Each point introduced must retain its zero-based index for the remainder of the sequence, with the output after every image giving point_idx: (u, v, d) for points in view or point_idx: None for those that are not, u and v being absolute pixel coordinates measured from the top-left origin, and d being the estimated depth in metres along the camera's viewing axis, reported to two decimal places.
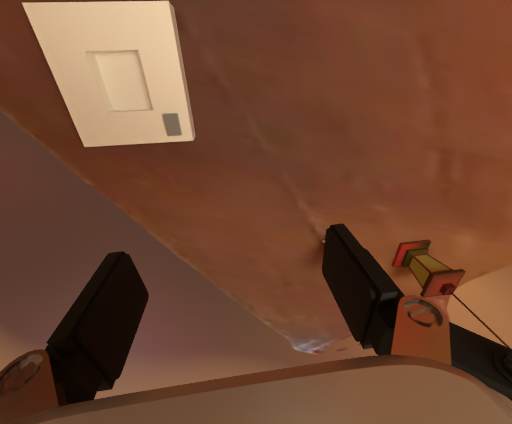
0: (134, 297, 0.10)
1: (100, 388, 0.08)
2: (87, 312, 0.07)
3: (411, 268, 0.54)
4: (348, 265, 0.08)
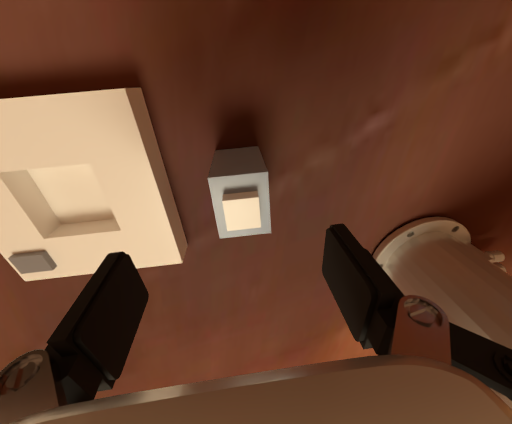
0: (134, 297, 0.10)
1: (100, 388, 0.08)
2: (87, 312, 0.07)
3: None
4: (348, 265, 0.08)
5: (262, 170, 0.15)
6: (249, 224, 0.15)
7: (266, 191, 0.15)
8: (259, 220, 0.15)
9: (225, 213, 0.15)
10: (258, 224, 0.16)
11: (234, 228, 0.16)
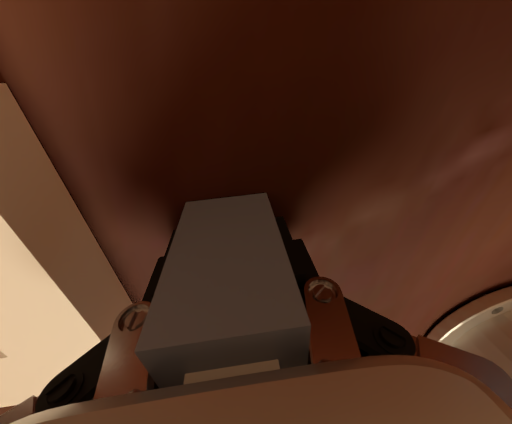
0: None
1: None
2: None
3: None
4: None
5: (292, 311, 0.05)
6: None
7: (301, 358, 0.06)
8: None
9: None
10: None
11: None
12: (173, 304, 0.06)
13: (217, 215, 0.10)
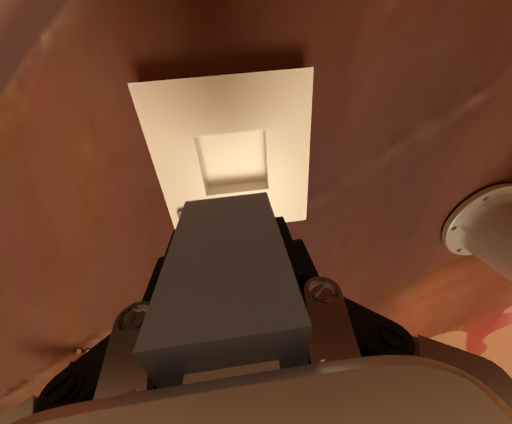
0: None
1: None
2: None
3: None
4: None
5: (292, 312, 0.05)
6: None
7: (302, 358, 0.06)
8: None
9: None
10: None
11: None
12: (172, 304, 0.06)
13: (217, 214, 0.09)
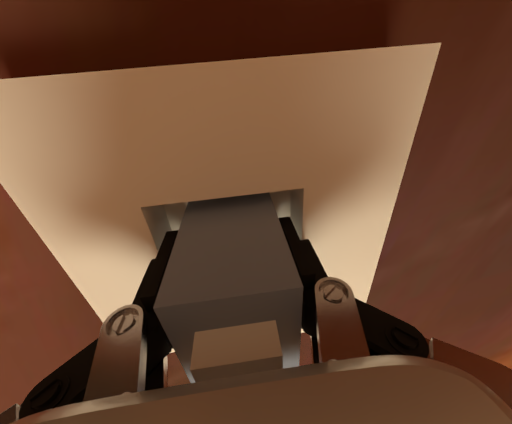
0: None
1: None
2: None
3: None
4: None
5: (287, 277, 0.06)
6: None
7: (296, 319, 0.07)
8: None
9: None
10: None
11: None
12: (184, 273, 0.07)
13: (220, 202, 0.10)
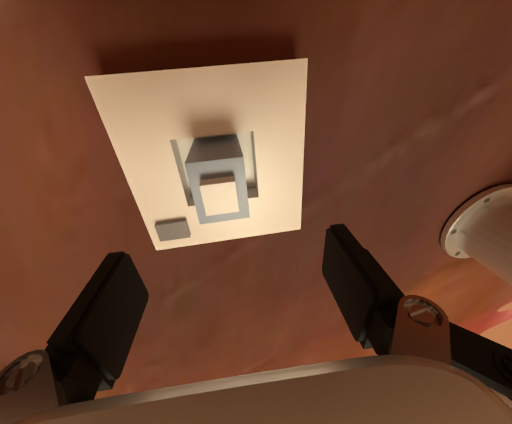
0: (134, 297, 0.10)
1: (100, 388, 0.08)
2: (87, 312, 0.07)
3: None
4: (348, 265, 0.08)
5: (238, 155, 0.15)
6: (227, 208, 0.16)
7: (243, 176, 0.16)
8: (237, 204, 0.16)
9: (203, 198, 0.15)
10: (236, 208, 0.16)
11: (213, 213, 0.16)
12: (195, 157, 0.16)
13: (211, 141, 0.19)
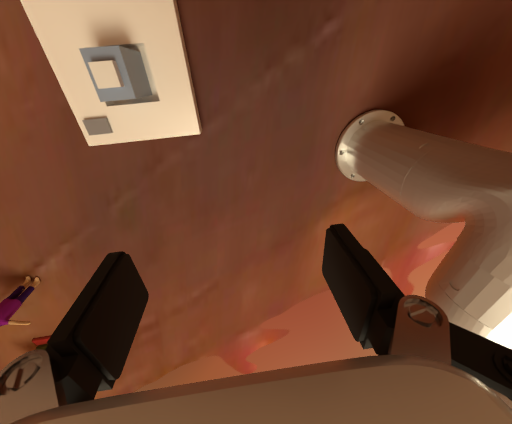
0: (134, 297, 0.10)
1: (100, 388, 0.08)
2: (87, 312, 0.07)
3: None
4: (348, 265, 0.08)
5: (116, 46, 0.23)
6: (112, 83, 0.24)
7: (122, 61, 0.24)
8: (118, 80, 0.24)
9: (92, 73, 0.23)
10: (118, 84, 0.24)
11: (102, 86, 0.24)
12: None
13: None
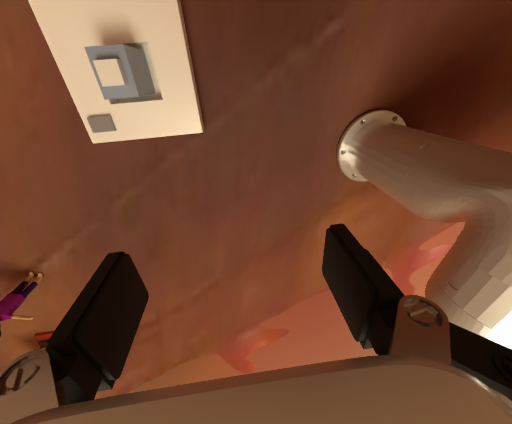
0: (134, 297, 0.10)
1: (100, 388, 0.08)
2: (87, 312, 0.07)
3: None
4: (348, 265, 0.08)
5: (121, 44, 0.24)
6: (116, 81, 0.24)
7: (126, 60, 0.24)
8: (122, 78, 0.24)
9: (97, 71, 0.24)
10: (122, 82, 0.24)
11: (106, 84, 0.24)
12: None
13: None
